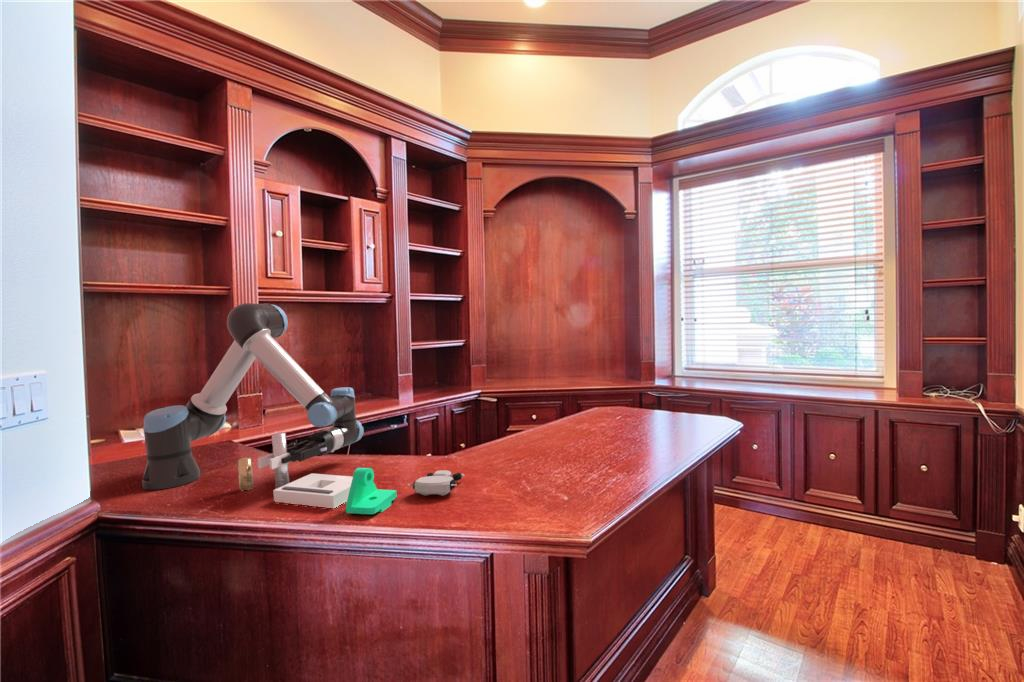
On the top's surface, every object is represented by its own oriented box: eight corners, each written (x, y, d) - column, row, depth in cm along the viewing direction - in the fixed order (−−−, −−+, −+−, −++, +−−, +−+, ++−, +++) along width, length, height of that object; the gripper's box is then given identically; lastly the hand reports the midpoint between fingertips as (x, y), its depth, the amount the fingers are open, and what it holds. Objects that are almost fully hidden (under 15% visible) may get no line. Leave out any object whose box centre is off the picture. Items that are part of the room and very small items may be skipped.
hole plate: (274, 502, 131) (273, 488, 131) (312, 484, 144) (311, 472, 144) (334, 509, 124) (332, 494, 124) (368, 489, 137) (367, 476, 137)
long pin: (277, 487, 140) (273, 433, 140) (291, 486, 141) (286, 431, 140) (274, 492, 137) (270, 436, 136) (288, 490, 138) (284, 434, 137)
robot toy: (426, 484, 142) (407, 499, 128) (426, 468, 143) (406, 482, 128) (467, 484, 140) (452, 500, 126) (466, 468, 141) (451, 482, 126)
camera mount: (373, 519, 117) (370, 477, 117) (346, 517, 119) (343, 476, 119) (398, 500, 129) (395, 461, 128) (373, 498, 131) (370, 461, 130)
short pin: (242, 487, 145) (239, 458, 145) (255, 486, 146) (252, 456, 146) (238, 492, 142) (235, 461, 141) (251, 490, 143) (249, 460, 142)
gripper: (347, 454, 153) (289, 479, 131) (305, 451, 159) (243, 475, 137) (345, 430, 152) (287, 452, 130) (303, 429, 158) (241, 448, 136)
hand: (264, 463), depth 134 cm, fingers closed on long pin, 3 cm apart
